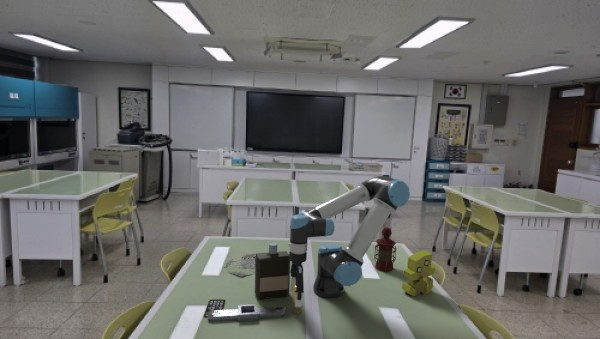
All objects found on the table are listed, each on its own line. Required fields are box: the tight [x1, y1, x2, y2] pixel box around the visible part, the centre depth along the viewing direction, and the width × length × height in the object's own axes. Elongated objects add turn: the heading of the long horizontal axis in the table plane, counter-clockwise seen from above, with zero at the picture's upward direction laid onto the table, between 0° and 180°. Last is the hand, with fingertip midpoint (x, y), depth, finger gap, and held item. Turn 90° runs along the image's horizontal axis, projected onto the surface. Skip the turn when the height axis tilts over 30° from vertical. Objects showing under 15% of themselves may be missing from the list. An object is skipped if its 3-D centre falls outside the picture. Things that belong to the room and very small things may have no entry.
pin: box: [291, 284, 302, 315], centre depth 159 cm, size 4×4×12 cm
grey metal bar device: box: [207, 303, 287, 323], centre depth 155 cm, size 33×8×3 cm, turn 100°
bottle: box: [254, 242, 291, 300], centre depth 174 cm, size 8×16×25 cm, turn 106°
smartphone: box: [203, 298, 226, 319], centre depth 161 cm, size 7×1×15 cm
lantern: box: [373, 216, 397, 273], centre depth 209 cm, size 12×12×30 cm
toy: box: [401, 249, 436, 297], centre depth 181 cm, size 16×6×20 cm, turn 115°
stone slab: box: [223, 253, 256, 277], centre depth 212 cm, size 27×33×1 cm
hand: (295, 298), depth 159 cm, fingers open, 13 cm apart
